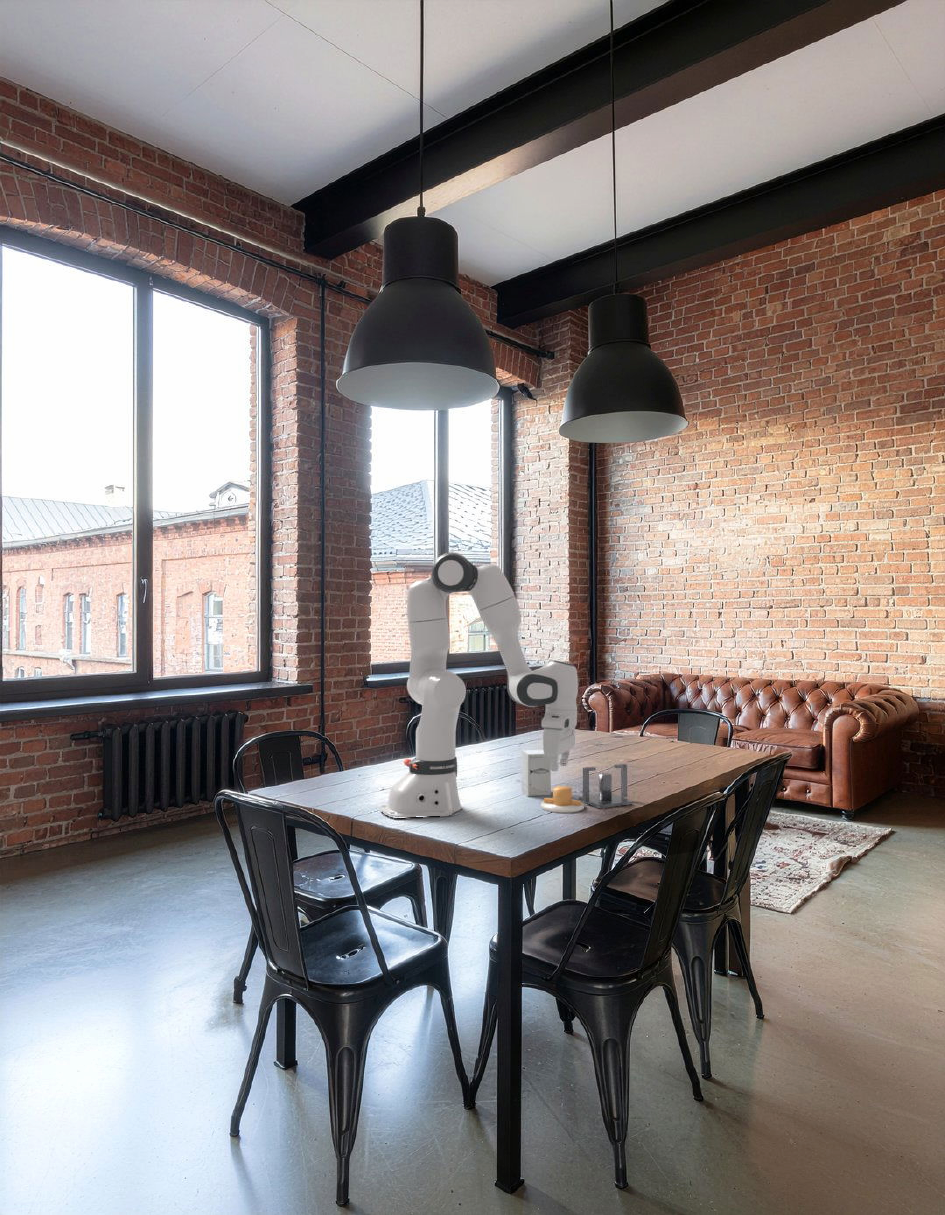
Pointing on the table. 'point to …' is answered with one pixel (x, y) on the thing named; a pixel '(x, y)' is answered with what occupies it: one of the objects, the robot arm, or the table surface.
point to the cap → (562, 797)
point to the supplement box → (536, 773)
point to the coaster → (562, 808)
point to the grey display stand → (605, 789)
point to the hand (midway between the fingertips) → (559, 768)
